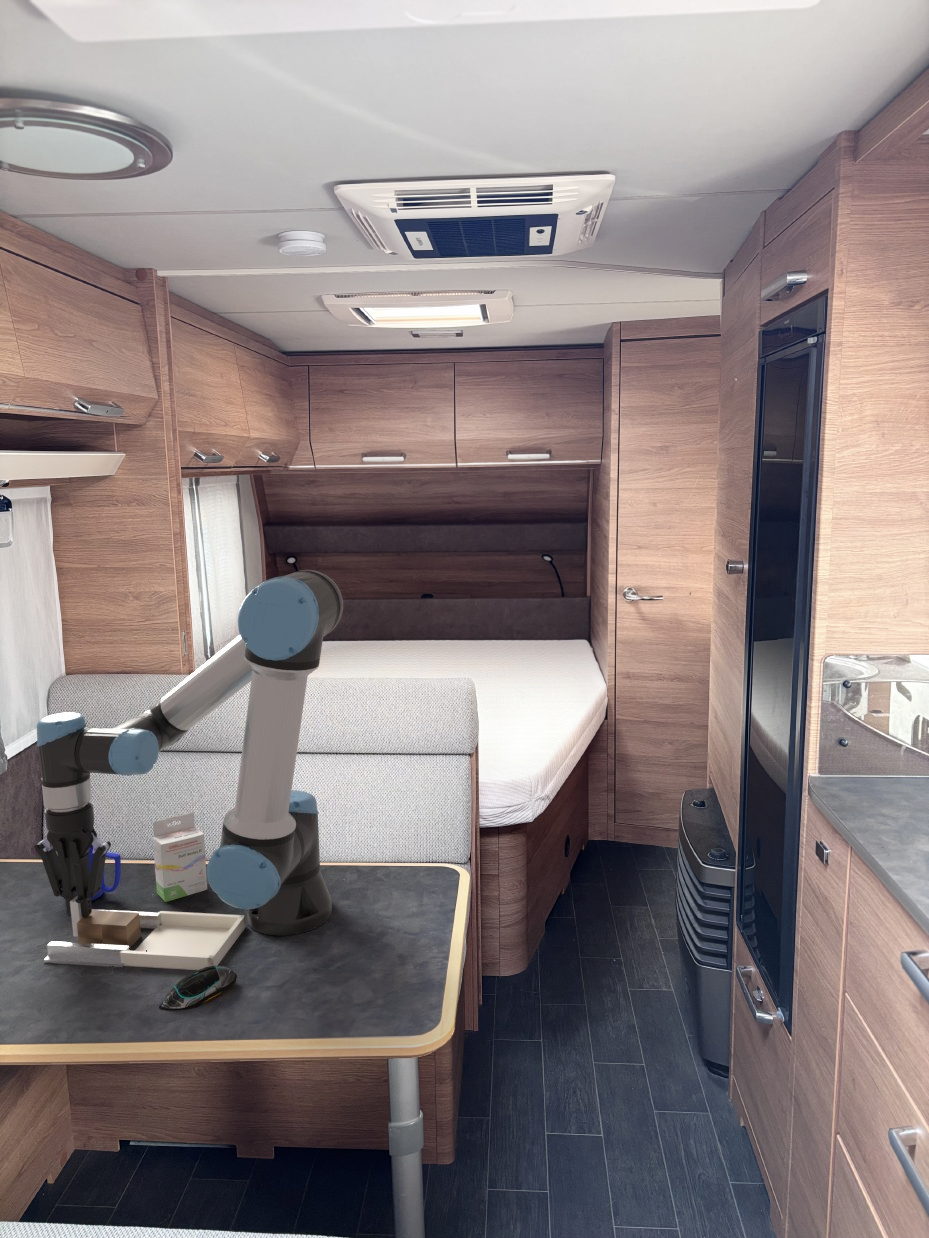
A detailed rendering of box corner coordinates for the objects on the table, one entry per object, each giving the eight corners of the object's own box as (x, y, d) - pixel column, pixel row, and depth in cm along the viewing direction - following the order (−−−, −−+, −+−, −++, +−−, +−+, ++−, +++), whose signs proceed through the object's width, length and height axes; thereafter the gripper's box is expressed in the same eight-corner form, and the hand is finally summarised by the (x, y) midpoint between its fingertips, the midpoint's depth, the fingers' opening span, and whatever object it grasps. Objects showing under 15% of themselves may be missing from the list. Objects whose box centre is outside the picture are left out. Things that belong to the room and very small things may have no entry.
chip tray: (245, 927, 158) (245, 915, 157) (213, 971, 144) (212, 958, 144) (161, 923, 160) (160, 910, 159) (121, 965, 146) (120, 952, 146)
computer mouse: (154, 1000, 137) (152, 975, 136) (231, 975, 143) (229, 951, 143) (164, 1020, 132) (162, 995, 131) (243, 993, 138) (242, 969, 137)
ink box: (164, 903, 167) (158, 829, 165) (156, 893, 171) (150, 821, 169) (209, 890, 172) (204, 818, 170) (199, 880, 176) (194, 810, 174)
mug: (110, 910, 165) (105, 860, 163) (52, 905, 167) (47, 855, 166) (135, 890, 173) (130, 841, 171) (79, 885, 175) (75, 837, 174)
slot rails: (164, 922, 160) (163, 909, 160) (122, 967, 146) (121, 953, 145) (92, 918, 162) (91, 905, 162) (44, 962, 148) (42, 948, 147)
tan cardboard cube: (141, 936, 155) (139, 912, 155) (128, 950, 151) (126, 925, 150) (117, 935, 156) (114, 911, 155) (103, 948, 152) (101, 924, 151)
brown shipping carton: (117, 934, 156) (114, 911, 155) (103, 948, 152) (101, 924, 151) (93, 933, 157) (90, 910, 156) (79, 947, 152) (76, 922, 151)
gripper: (116, 797, 153) (127, 923, 157) (46, 794, 155) (59, 920, 159) (92, 813, 146) (105, 945, 150) (19, 811, 148) (34, 942, 151)
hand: (81, 932), depth 154 cm, fingers closed
